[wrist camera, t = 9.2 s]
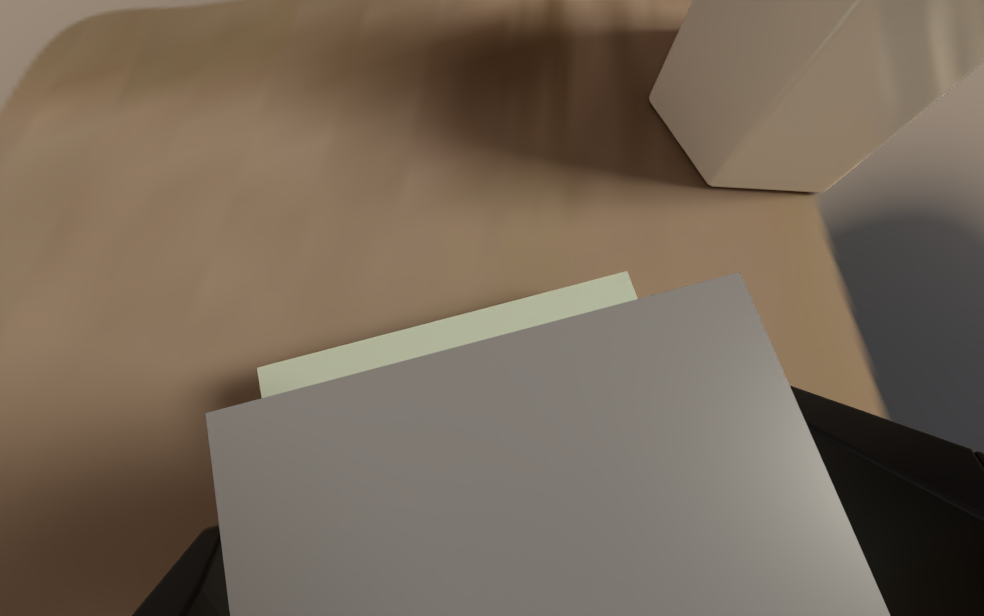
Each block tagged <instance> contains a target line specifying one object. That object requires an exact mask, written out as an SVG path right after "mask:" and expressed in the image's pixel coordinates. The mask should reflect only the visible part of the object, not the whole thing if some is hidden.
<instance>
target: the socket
mask: <svg viewBox="0 0 984 616" xmlns="http://www.w3.org/2000/svg"><path fill="white" fill-rule="evenodd" d="M636 299H637V296H636V293H635V291H634V288H633V286H632V283H631V280H630V278H629V275H628V272H627V271H626V272H622V273H618V274H614V275H611V276H607V277H603V278H599V279H595V280H591V281H588V282H584V283H580V284H576V285H572V286H568V287H565V288H561V289H557V290H553V291H549V292H546V293H542V294H538V295H534V296H530V297H526V298H523V299H519V300H515V301H511V302H507V303H503V304H500V305H496V306H492V307H488V308H484V309H480V310H477V311H473V312H469V313H465V314H461V315H457V316H454V317H450V318H446V319H442V320H438V321H434V322H431V323H427V324H423V325H419V326H415V327H411V328H408V329H404V330H400V331H396V332H392V333H388V334H385V335H381V336H377V337H373V338H369V339H366V340H362V341H358V342H354V343H350V344H346V345H343V346H339V347H335V348H331V349H327V350H323V351H320V352H316V353H312V354H308V355H304V356H300V357H297V358H293V359H289V360H285V361H281V362H277V363H274V364H270V365H266V366H262V367H258V368H257V371H258V378H259V384H260V391H261V397H262V398H265V397H268V396H272V395H276V394H280V393H284V392H287V391H291V390H295V389H299V388H303V387H306V386H310V385H314V384H318V383H322V382H325V381H329V380H333V379H337V378H341V377H344V376H348V375H352V374H356V373H359V372H363V371H367V370H371V369H375V368H378V367H382V366H386V365H390V364H394V363H397V362H401V361H405V360H409V359H413V358H416V357H420V356H424V355H428V354H431V353H435V352H439V351H443V350H447V349H450V348H454V347H458V346H462V345H466V344H469V343H473V342H477V341H481V340H485V339H488V338H492V337H496V336H500V335H503V334H507V333H511V332H515V331H519V330H522V329H526V328H530V327H534V326H538V325H541V324H545V323H549V322H553V321H557V320H560V319H564V318H568V317H572V316H576V315H579V314H583V313H587V312H591V311H594V310H598V309H602V308H606V307H610V306H613V305H617V304H621V303H625V302H629V301H632V300H636Z"/></svg>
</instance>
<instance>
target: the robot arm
mask: <svg viewBox="0 0 984 616" xmlns="http://www.w3.org/2000/svg"><path fill="white" fill-rule="evenodd" d="M790 388H791V390H792V392H793V394H794V397H795V399H796V401H797V404H798V406H799V408H800V410H801V413H802V415H803V417H804V420H805V422H806V424H807V426H808V429H809V431H810V433H811V435H812V438H813V440H814V442H815V445H816V447H817V449H818V451H819V454H820V456H821V458H822V461H823V463H824V465H825V467H826V470H827V472H828V474H829V477H830V479H831V481H832V483H833V486H834V488H835V490H836V493H837V495H838V497H839V499H840V502H841V504H842V506H843V509H844V511H845V513H846V515H847V518H848V520H849V522H850V524H851V527H852V529H853V531H854V534H855V536H856V538H857V540H858V543H859V545H860V547H861V550H862V552H863V554H864V556H865V559H866V561H867V563H868V566H869V568H870V570H871V572H872V575H873V577H874V579H875V582H876V584H877V586H878V588H879V591H880V593H881V595H882V598H883V600H884V602H885V604H886V607H887V609H888V611H889V613H890V616H984V453H982V452H979V451H976V452H973V450H972V449H970V448H967V447H964V446H961V445H958V444H955V443H953V442H950V441H947V440H944V439H941V438H939V437H936V436H933V435H930V434H927V433H924V432H921V431H919V430H916V429H913V428H910V427H907V426H904V425H901V424H898V423H896V422H893V421H890V420H887V419H884V418H881V417H879V416H876V415H873V414H870V413H867V412H864V411H861V410H858V409H856V408H853V407H850V406H847V405H844V404H841V403H838V402H836V401H833V400H830V399H827V398H824V397H821V396H818V395H816V394H813V393H810V392H807V391H804V390H801V389H798V388H795V387H793V386H790ZM132 616H230V611H229V603H228V594H227V586H226V578H225V570H224V562H223V553H222V545H221V537H220V529H219V524H218V525H215V526H211V527H208V528H206V529H205V530H203V531H202V532H201V533H200V535H199V536H198V537H197V538H196V539H195V541H194V542H193V543H192V544H191V545H190V547H189V548H188V549H187V550H186V551H185V553H184V554H183V555H182V556H181V557H180V559H179V560H178V561H177V562H176V563H175V565H174V566H173V567H172V568H171V569H170V571H169V572H168V573H167V574H166V575H165V577H164V578H163V579H162V580H161V581H160V583H159V584H158V585H157V586H156V587H155V589H154V590H153V591H152V592H151V593H150V595H149V596H148V597H147V598H146V599H145V601H144V602H143V603H142V604H141V605H140V607H139V608H138V609H137V610H136V611H135V613H134V614H133V615H132Z"/></svg>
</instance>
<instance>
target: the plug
mask: <svg viewBox="0 0 984 616" xmlns="http://www.w3.org/2000/svg"><path fill="white" fill-rule="evenodd" d="M205 414H206V422H207V431H208V439H209V447H210V455H211V463H212V472H213V480H214V488H215V496H216V504H217V512H218V521H219V529H220V537H221V545H222V553H223V562H224V570H225V578H226V586H227V594H228V603H229V611H230V616H890V613H889V611H888V609H887V607H886V604H885V602H884V600H883V598H882V595H881V593H880V591H879V588H878V586H877V584H876V582H875V579H874V577H873V575H872V572H871V570H870V568H869V566H868V563H867V561H866V559H865V556H864V554H863V552H862V550H861V547H860V545H859V543H858V540H857V538H856V536H855V534H854V531H853V529H852V527H851V524H850V522H849V520H848V518H847V515H846V513H845V511H844V509H843V506H842V504H841V502H840V499H839V497H838V495H837V493H836V490H835V488H834V486H833V483H832V481H831V479H830V477H829V474H828V472H827V470H826V467H825V465H824V463H823V461H822V458H821V456H820V454H819V451H818V449H817V447H816V445H815V442H814V440H813V438H812V435H811V433H810V431H809V429H808V426H807V424H806V422H805V420H804V417H803V415H802V413H801V410H800V408H799V406H798V404H797V401H796V399H795V397H794V394H793V392H792V390H791V388H790V385H789V383H788V381H787V378H786V376H785V374H784V372H783V369H782V367H781V365H780V362H779V360H778V358H777V356H776V353H775V351H774V349H773V346H772V344H771V342H770V340H769V337H768V335H767V333H766V330H765V328H764V326H763V324H762V321H761V319H760V317H759V315H758V312H757V310H756V308H755V305H754V303H753V301H752V299H751V296H750V294H749V292H748V289H747V287H746V285H745V283H744V280H743V278H742V276H741V273H740V272H738V273H735V274H731V275H727V276H723V277H720V278H716V279H712V280H708V281H704V282H701V283H697V284H693V285H689V286H685V287H682V288H678V289H674V290H670V291H666V292H663V293H659V294H655V295H651V296H648V297H644V298H640V299H636V300H632V301H629V302H625V303H621V304H617V305H613V306H610V307H606V308H602V309H598V310H594V311H591V312H587V313H583V314H579V315H576V316H572V317H568V318H564V319H560V320H557V321H553V322H549V323H545V324H541V325H538V326H534V327H530V328H526V329H522V330H519V331H515V332H511V333H507V334H503V335H500V336H496V337H492V338H488V339H485V340H481V341H477V342H473V343H469V344H466V345H462V346H458V347H454V348H450V349H447V350H443V351H439V352H435V353H431V354H428V355H424V356H420V357H416V358H413V359H409V360H405V361H401V362H397V363H394V364H390V365H386V366H382V367H378V368H375V369H371V370H367V371H363V372H359V373H356V374H352V375H348V376H344V377H341V378H337V379H333V380H329V381H325V382H322V383H318V384H314V385H310V386H306V387H303V388H299V389H295V390H291V391H287V392H284V393H280V394H276V395H272V396H268V397H265V398H261V399H257V400H253V401H250V402H246V403H242V404H238V405H234V406H231V407H227V408H223V409H219V410H215V411H212V412H208V413H205Z"/></svg>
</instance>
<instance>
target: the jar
mask: <svg viewBox="0 0 984 616" xmlns="http://www.w3.org/2000/svg"><path fill="white" fill-rule="evenodd" d="M983 63H984V0H693V1H692V3H691V5H690V7H689V9H688V12H687V14H686V16H685V18H684V20H683V23H682V25H681V27H680V29H679V31H678V34H677V36H676V38H675V40H674V42H673V45H672V47H671V49H670V51H669V53H668V56H667V58H666V60H665V62H664V64H663V67H662V69H661V71H660V73H659V75H658V78H657V80H656V82H655V84H654V86H653V89H652V91H651V93H650V95H649V101H650V103H651V104H652V106H653V107H654V109H655V110H656V111H657V113H658V114H659V116H660V117H661V118H662V120H663V121H664V123H665V124H666V126H667V127H668V128H669V130H670V131H671V133H672V134H673V135H674V137H675V138H676V140H677V141H678V143H679V144H680V145H681V147H682V148H683V150H684V151H685V153H686V154H687V155H688V157H689V158H690V160H691V161H692V163H693V164H694V165H695V167H696V168H697V170H698V171H699V173H700V174H701V176H702V177H703V178H704V180H705V181H706V183H707V184H708V185H709V186H713V187H730V188H748V189H766V190H783V191H800V192H817V193H820V192H824V191H826V190H828V189H829V188H830V187H831V186H833V185H834V184H835V183H836V182H837V181H839V180H840V179H841V178H842V177H843V176H845V175H846V174H847V173H848V172H850V171H851V170H852V169H853V168H855V167H856V166H857V165H858V164H860V163H861V162H862V161H863V160H865V159H866V158H867V157H868V156H869V155H871V154H872V153H873V152H874V151H876V150H877V149H878V148H879V147H880V146H882V145H883V144H884V143H885V142H887V141H888V140H889V139H890V138H892V137H893V136H894V135H895V134H897V133H898V132H899V131H900V130H901V129H903V128H904V127H905V126H906V125H908V124H909V123H910V122H911V121H912V120H914V119H915V118H916V117H918V116H919V115H920V114H921V113H922V112H924V111H925V110H926V109H927V108H929V107H930V106H931V105H932V104H933V103H935V102H936V101H937V100H938V99H940V98H941V97H942V96H943V95H945V94H946V93H947V92H948V91H950V90H951V89H952V88H953V87H954V86H956V85H957V84H958V83H959V82H960V81H962V80H963V79H964V78H966V77H967V76H968V75H969V74H970V73H972V72H973V71H974V70H975V69H977V68H978V67H979V66H980V65H982V64H983Z"/></svg>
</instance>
